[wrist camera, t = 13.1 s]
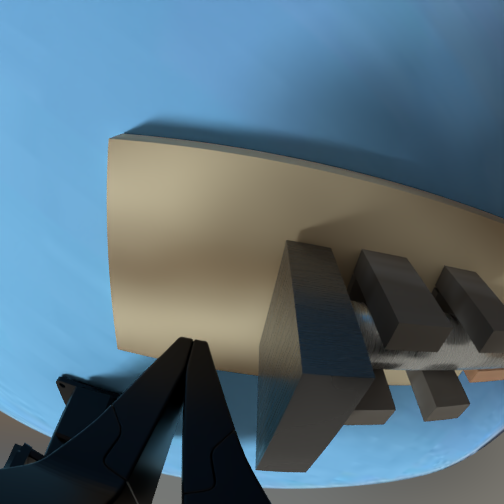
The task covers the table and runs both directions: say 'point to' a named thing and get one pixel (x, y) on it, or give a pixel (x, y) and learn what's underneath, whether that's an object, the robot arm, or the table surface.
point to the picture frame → (485, 375)
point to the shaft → (327, 359)
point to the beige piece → (271, 251)
